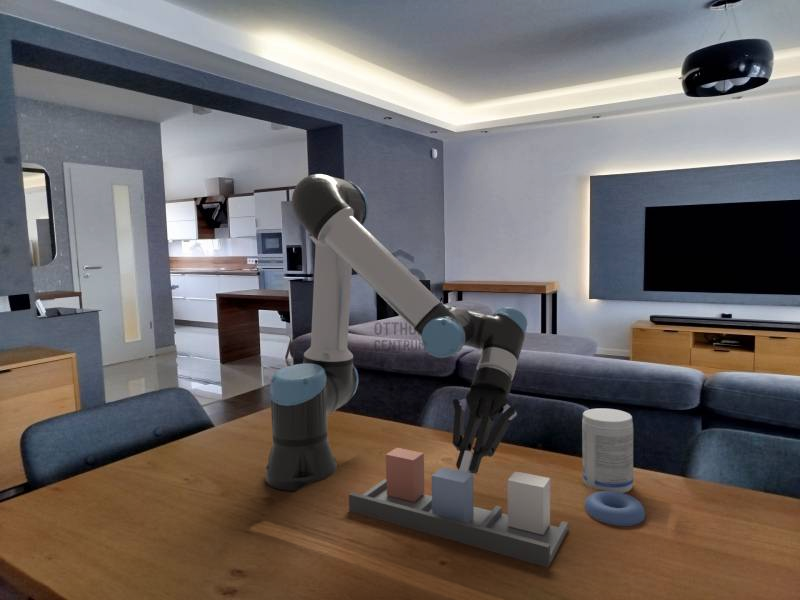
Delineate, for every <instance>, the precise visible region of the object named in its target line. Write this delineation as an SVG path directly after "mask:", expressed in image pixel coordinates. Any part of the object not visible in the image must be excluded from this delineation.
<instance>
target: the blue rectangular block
mask: <svg viewBox="0 0 800 600" xmlns="http://www.w3.org/2000/svg"><path fill="white" fill-rule="evenodd" d="M431 495H432V513H433V514H437V515H441V516H445V517H449V518H452V519H456V520H460V521H464V522H468V523H470V522H471V521H472V520H473V519H474V507H475V506H474V473H467V472H462V471H459V470H457V469H453V468H452V469H451V468H447V467H443V466H442V467H440V468H439V469H437V470H436V471H435V472H434V473H433V474H432V475H431Z"/></svg>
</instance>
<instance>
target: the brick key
mask: <svg viewBox="0 0 800 600" xmlns="http://www.w3.org/2000/svg"><path fill="white" fill-rule="evenodd" d="M424 456H425V453H424V452H421V451H420V452H419V451H414V450H410V449H405V448H401V447H395V448H394V449H392V450H390V451H389V452H388V453H386V454H385V476H386V478H385V479H386V484H387V495H388V496H392V497H396V498H400V499H404V500H408V501H412V502H415V501H416V500H417V499H418V498H420V497H421V496H422V495H423V494H424V495H425V457H424Z"/></svg>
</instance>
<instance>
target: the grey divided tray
mask: <svg viewBox="0 0 800 600" xmlns="http://www.w3.org/2000/svg"><path fill="white" fill-rule="evenodd" d="M502 510H503V507H502V506H499V505H496V506H494V508H492V510H490V509H487V508H481V507H477V506H474V519H473V520H472V521H471V522H470V523H468V522H464V521H460V520H456V519H452V518H449V517H445V516H441V515H437V514H433V513H432V494H431V495H429V494H425V493H424V494H423V495H422V496H421V497H420V498H418V499H417V500H416V501H415V502H412V501H408V500H404V499H400V498H396V497H392V496H388V495H387V484H386V478H385V479H382V480H381V481H380V482H378V483H376V484H375V485H374V486H373V487H371V488H369V489H368V490H367V491H365V492H364V493H362V494H361V493H357V492H350V493H349V494H348V511H349V512H353V513H356V514H360V515H364V516H367V517H370V518H374V519H378V520H381V521H385V522H388V523H392V524H396V525H398V526H402V527H406V528H409V529H413V530H416V531H420V532H423V533H427V534H430V535H432V536H433V535H434V536H437V537H441V538H444V539H447V540H452V541H454V542H459V543H461V544H465V545H469V546H473V547H476V548H479V549H483V550H487V551H490V552H493V553H497V554H501V555H504V556H508V557H511V558H514V559H518V560H522V561H525V562H529V563H532V564H536V565H540V566H543V567H546V568H549V567H550V565H551V563H552V561H553V559H554V558H555V555H556V553H557V552H558V549H559V548H560V546H561V544H562V542H563V540H564V538H565V536H566V534H567V533H568V531H569V522H566V521H561V523H560V524H559V526H555V525H551V524H550V525H549V526H548V528H547V530H546V531H545V533H544V535H541V534H537V533H533V532H529V531H525V530H522V529H518V528H514V527H510V526H508V514H506V513H503V511H502Z"/></svg>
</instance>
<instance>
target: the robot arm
mask: <svg viewBox="0 0 800 600" xmlns="http://www.w3.org/2000/svg"><path fill="white" fill-rule="evenodd" d="M291 207H292V212H293V214H294V216H295V218H296V219H297V221H298V222H299V223H300V225H301V226H303V228H304V229H305V230H306V231H307V232H308V233H309V238H310V240H312V242H313V243H314V244H315V252H314V253H315V254H314V255H315V256H314V271H313V273H314V275H313V291H312V292H313V293H312V294H313V296H312V313H311V314H312V317H311V337H310V347H309V348H308V349H307V350H306V351H305V352H304V353H303V363H297V364H293V365H287V366H283V367H281V368H279V369H278V370H276V372H274V373H273V374H272V376H271V378H270V388H269V397H270V409H271V410H270V412H271V413H270V414H271V434H272V445H271V450H270V452H269V455H268V461H267V464H266V466H265V482H266V483H267V485H268V486H270V487H272V488H274V489H276V490H281V491H289V492H290V491H292V492H293V491H295V492H296V491H298V490H300V489H302V488H304V487H305V486H307V485H309V484H312V483H317V482H320V481H322V480H326V479H327V478H329V477H331V476H332V475H333V474H335V472H336V471H337V469H338V467H337V466H338V465H337V461H336V458H335V457H334V455H333V451H332V448H331V445H330V441H329V438H328V416H329V415H330V414H332V413H333V412H334V411H336V410H338V409H339V408H341V407H344V406H345V405H346V404H347V403H348V402H349V401H350V400H351V399H352V398H353V397H354V395H355V393H356V391H357V389H358V386H359V373H358V370H357V368H356V367H355V366H354V355H353V353H352V352H351V351H350V350H349V349H348V343H349V342H348V341H349V324H350V309H351V308H350V307H351V287H352V273H353V271H352V269H353V270H354V272H355V273H356V274H357V275H359V276H360V277H361V279H362V280H364V282H366V283H367V284H368V285H369V287H371V289H373V291H375V292H376V293H377V295H379V297H381V299H383V300H384V301H385V303H387V304H388V305H389V306H390V308H392V309H393V310H394V312H396V313H397V314H398V315H399V316H400V317H401V319H403V320H404V321H405V322H406V323H407V324H408V325H409V327H411V328H412V329H413V330H414V332H416V333H417V334H418V335H419V336H420V338H421V343H422V345H423V348H424V349H425V351H426V352H427V353H428V354H429V355H431V356H433V357H435V358H441V359H444V358H448V357H451V356H454V355H456V353H459V352H460V351H461V350H462V349H463V347H464V346H467V347H468V346H469V347H473V348H475V349H479V350H482V351H481V354H480V356H479V357H480V358H479V360H478V362H477V366H476V370H475V372H474V376H473V379H472V381H471V385H470V390H469V392H468V393H467V394H466V395H465V398H463V399H457V398H455V399H453V400H452V404H453V407H454V419H453V433H452V445H453V447H455V449H456V451H459V454H458V457H457V461H456V463H455V466H456V468H457V469H458V471H462V472H467V473H472V474H473V475H474V474H475V475H476V474H477V473H478V472H479V468H480V466H481V465H480V464H481V462H482V460H483V459H482V458H484V457H489V458H490V457H492V456H494V454H495V452H496V450H497V448H498V447H499V445H500V443H501V441H502V440H503V437H505V434H506V432H507V430H508V429H509V428H510V425H511V424H512V423H513V422H514V421H515V420H516V419H518V416H519V415H518V413H517V411H516V409H515V407H514V406H510V405H509V400H508V398H509V396H510V392H511V387H512V385H513V379H514V376H515V373H516V369H517V366H518V363H519V358H520V355H521V351H522V348H523V344H524V342H525V341H524V340H525V337H526V332H527V329H528V328H527V327H528V320H527V317H526V316H525V314H524V313H523V312H522V311H521V310H519V309H516V308H514V307H510V306H507V307H499V308H497V309H496V310H495V311H494V313H493V314H489V313H487V314H486V313H480V312H477V311H473V310H469V309H466V308H462V307H457V306H456V305H447V304H443V303H442V302H441V300H439V299H438V298H437V297H436V295H434V293H432V291H430V290H429V289H428V288H427V287H426V286H425V285H424V284H423V283H422V282H421V281H420V280H419V279H418V278H417V277H416V276H415V275H414V274H413V273H412V272H410V270H409V269H408V268H407V267H406V266H405V265H404V264H403V263H401V262H400V261H399V260H398V259H397V257H395V256H394V255H393V253H391V252H390V250H388V249H387V248H386V247H385V246H384V245H383V244H382V243H381V242H380V241H379V240H378V239H377V238H376V237H375V236H374V235H373V234H372V233H370V232H371V231H370V232H369V231H368V229H366V227H365V226H363V225H364V224H365V223H366V221H367V219H368V216H369V211H370V209H369V201H368V199H367V196H366V194H365V193H364V191H363V190H362V189H361V188H360V186H358V185H356V184H355V183H354V182H351V181H350V180H347V179H342V178H338V177H334V176H330V175H327V174H323V173H315V174H310V175H308V176H305V177H304V178H302V179H301V180H300V181H299V182H298V183H297V184H296V186H295V188H294V189H293V192H292V196H291ZM467 406H468V408H469V411H470V412H469V417H468V420H467V424H466V427H465V412H466V410H467ZM499 415H501V416H500V417H499V419H498V421H497V423H496V424H495V426H494V423H495V418H497V417H498V416H499ZM493 426H494V428H493V430H492V431H491V429H492V427H493ZM464 428H465V430H464ZM478 428H479V430H478ZM464 431H465V432H464ZM477 431H478V432H477ZM475 439H476V440H475ZM474 442H475V443H474ZM472 450H473V451H472Z"/></svg>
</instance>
